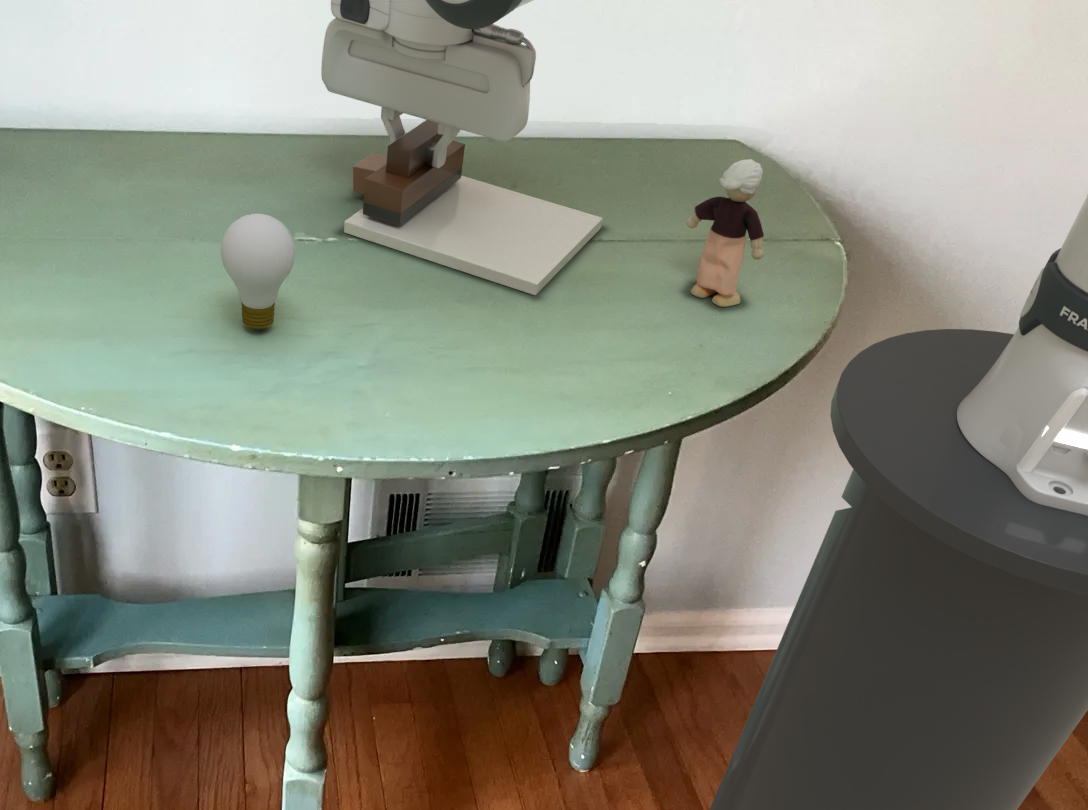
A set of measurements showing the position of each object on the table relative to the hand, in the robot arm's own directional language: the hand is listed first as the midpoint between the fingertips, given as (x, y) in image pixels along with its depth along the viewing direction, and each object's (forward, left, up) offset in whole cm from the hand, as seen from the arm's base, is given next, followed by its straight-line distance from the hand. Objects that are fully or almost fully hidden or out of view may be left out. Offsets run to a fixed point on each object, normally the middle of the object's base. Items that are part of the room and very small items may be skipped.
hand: (416, 159), depth 114 cm
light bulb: (0, +27, -6) cm, 28 cm away
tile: (-7, 0, -5) cm, 9 cm away
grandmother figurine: (-30, -2, -6) cm, 30 cm away
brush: (0, 0, -4) cm, 4 cm away
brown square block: (+4, -1, -4) cm, 6 cm away
